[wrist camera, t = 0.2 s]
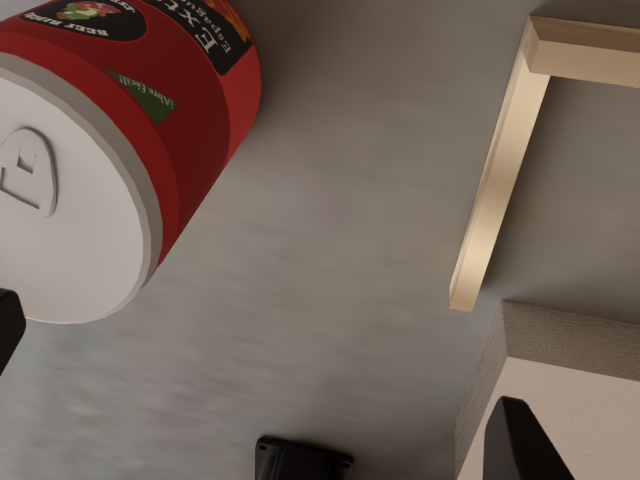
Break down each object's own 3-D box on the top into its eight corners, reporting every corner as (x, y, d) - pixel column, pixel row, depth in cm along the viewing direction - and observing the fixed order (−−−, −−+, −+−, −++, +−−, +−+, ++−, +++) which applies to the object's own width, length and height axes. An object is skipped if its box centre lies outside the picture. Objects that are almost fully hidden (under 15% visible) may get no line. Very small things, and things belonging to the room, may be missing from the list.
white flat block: (612, 453, 32) (631, 521, 29) (454, 421, 33) (455, 484, 30) (696, 330, 26) (731, 399, 23) (500, 295, 27) (507, 356, 24)
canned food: (282, -9, 20) (157, 109, 12) (253, 176, 25) (149, 358, 16) (81, -64, 20) (-193, 11, 12) (91, 130, 25) (-99, 286, 16)
